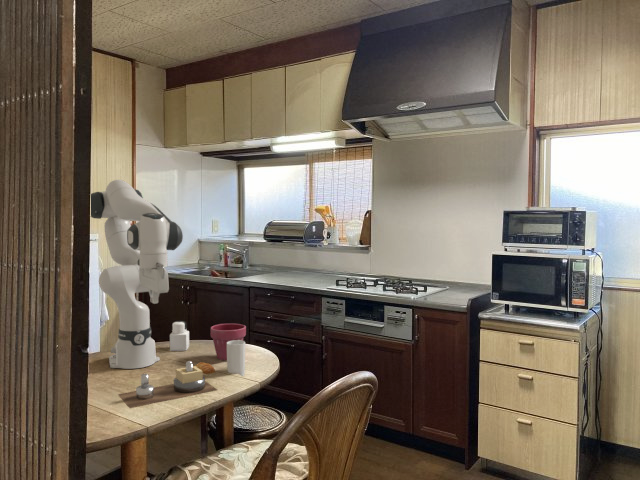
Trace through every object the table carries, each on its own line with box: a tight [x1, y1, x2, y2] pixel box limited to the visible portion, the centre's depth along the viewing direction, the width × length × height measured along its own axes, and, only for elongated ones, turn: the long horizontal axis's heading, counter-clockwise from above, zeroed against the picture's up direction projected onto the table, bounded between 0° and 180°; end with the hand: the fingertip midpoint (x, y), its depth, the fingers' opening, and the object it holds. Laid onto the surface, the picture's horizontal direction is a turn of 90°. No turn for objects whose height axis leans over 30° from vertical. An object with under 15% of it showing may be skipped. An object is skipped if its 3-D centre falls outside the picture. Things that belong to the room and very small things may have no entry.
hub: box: [173, 360, 206, 393], centre depth 171 cm, size 10×10×9 cm
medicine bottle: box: [169, 320, 190, 352], centre depth 225 cm, size 7×7×12 cm
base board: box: [117, 380, 218, 409], centre depth 168 cm, size 14×28×2 cm, turn 125°
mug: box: [226, 340, 246, 377], centre depth 192 cm, size 10×7×12 cm, turn 170°
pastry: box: [195, 362, 216, 375], centre depth 191 cm, size 9×7×4 cm
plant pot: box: [210, 323, 247, 361], centre depth 212 cm, size 14×14×13 cm
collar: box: [175, 365, 204, 384], centre depth 171 cm, size 7×7×3 cm
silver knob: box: [135, 373, 155, 400], centre depth 163 cm, size 5×5×7 cm
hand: (154, 302), depth 174 cm, fingers closed
